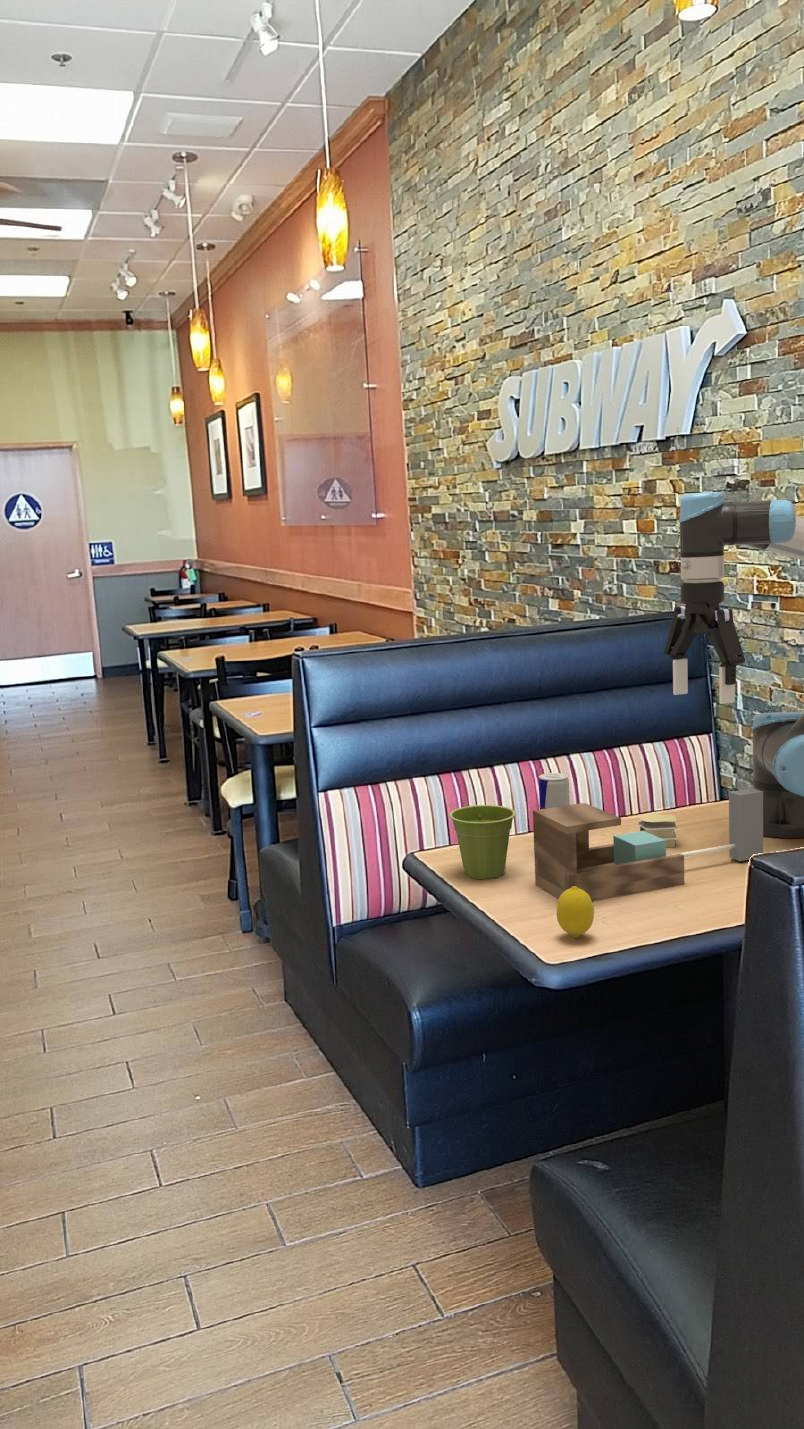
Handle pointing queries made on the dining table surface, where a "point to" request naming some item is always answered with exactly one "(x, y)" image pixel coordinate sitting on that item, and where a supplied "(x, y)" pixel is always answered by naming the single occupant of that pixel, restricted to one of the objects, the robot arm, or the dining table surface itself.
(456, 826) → the plant pot
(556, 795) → the beverage can
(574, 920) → the lemon
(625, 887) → the walnut shelf
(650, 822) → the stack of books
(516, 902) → the dining table surface
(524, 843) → the dining table surface
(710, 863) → the dining table surface
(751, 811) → the pull block
